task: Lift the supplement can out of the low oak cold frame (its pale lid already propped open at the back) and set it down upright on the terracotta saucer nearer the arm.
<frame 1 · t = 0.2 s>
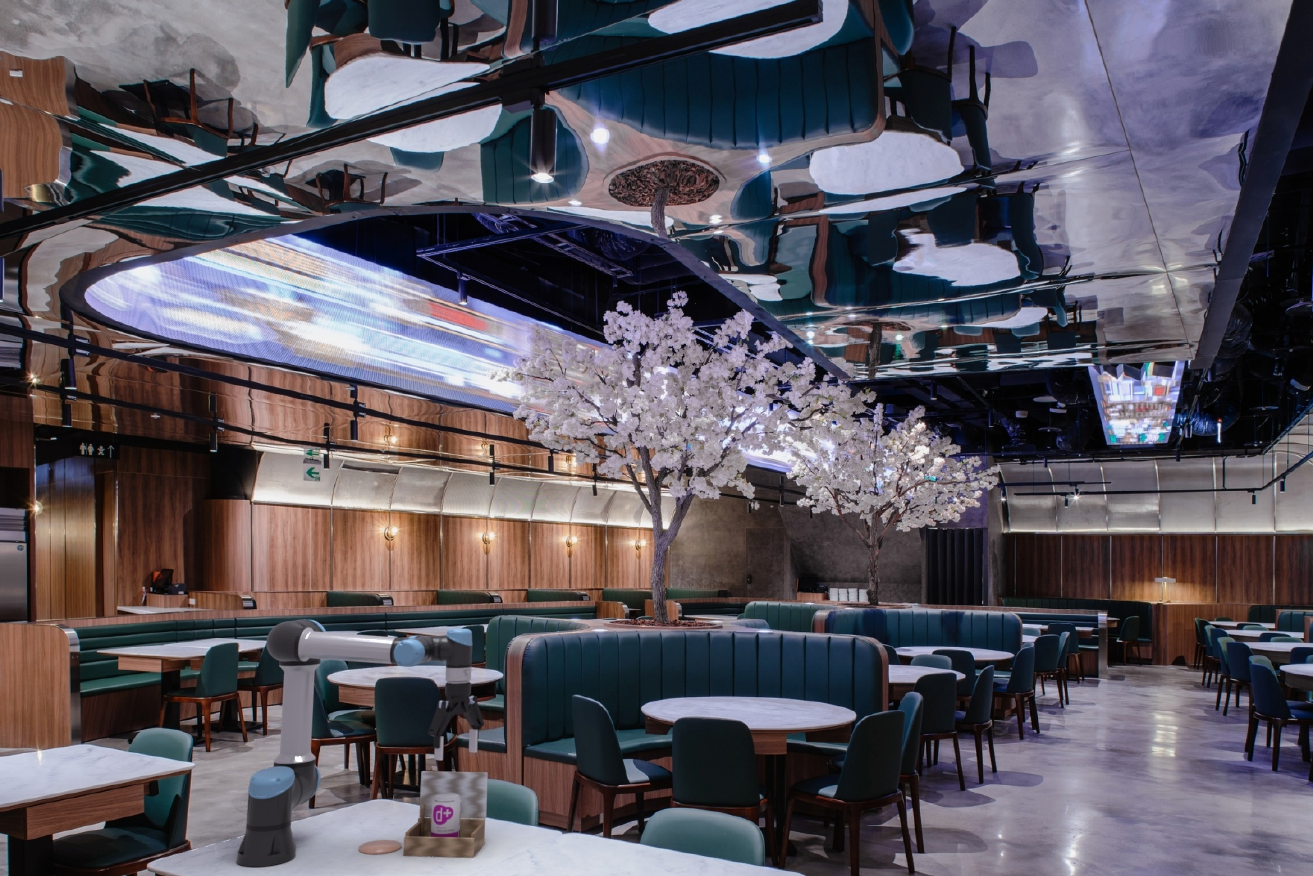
hand: (456, 756, 263), 26 cm above the table, tool pointing down, fingers open, 13 cm apart
saucer: (380, 848, 259), on the table
supplement can: (444, 850, 258), resting in cold frame
cold frame: (444, 849, 258), on the table
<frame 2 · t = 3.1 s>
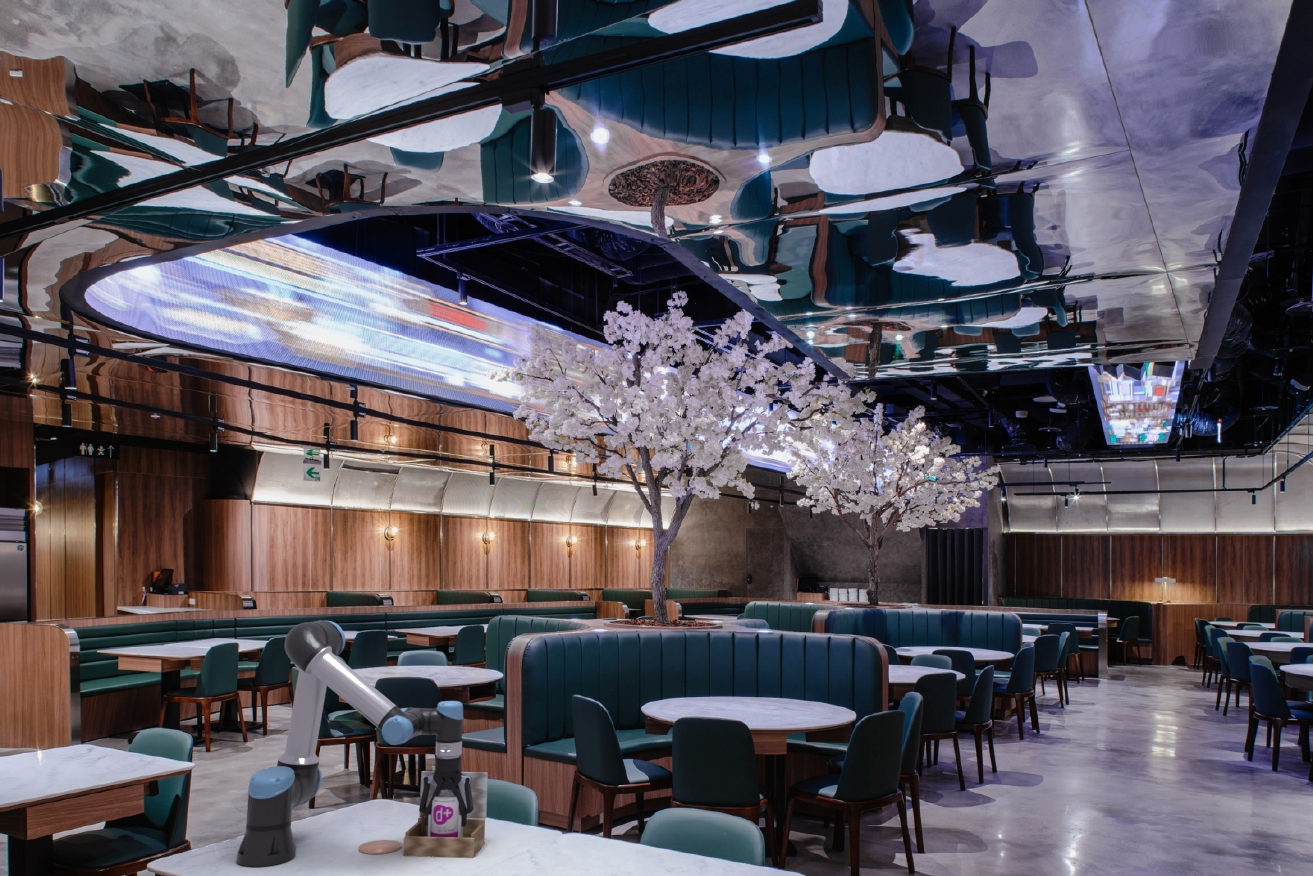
hand: (445, 837, 258), 3 cm above the table, tool pointing down, fingers closed on supplement can, 8 cm apart
supplement can: (444, 850, 258), resting in cold frame, touching gripper
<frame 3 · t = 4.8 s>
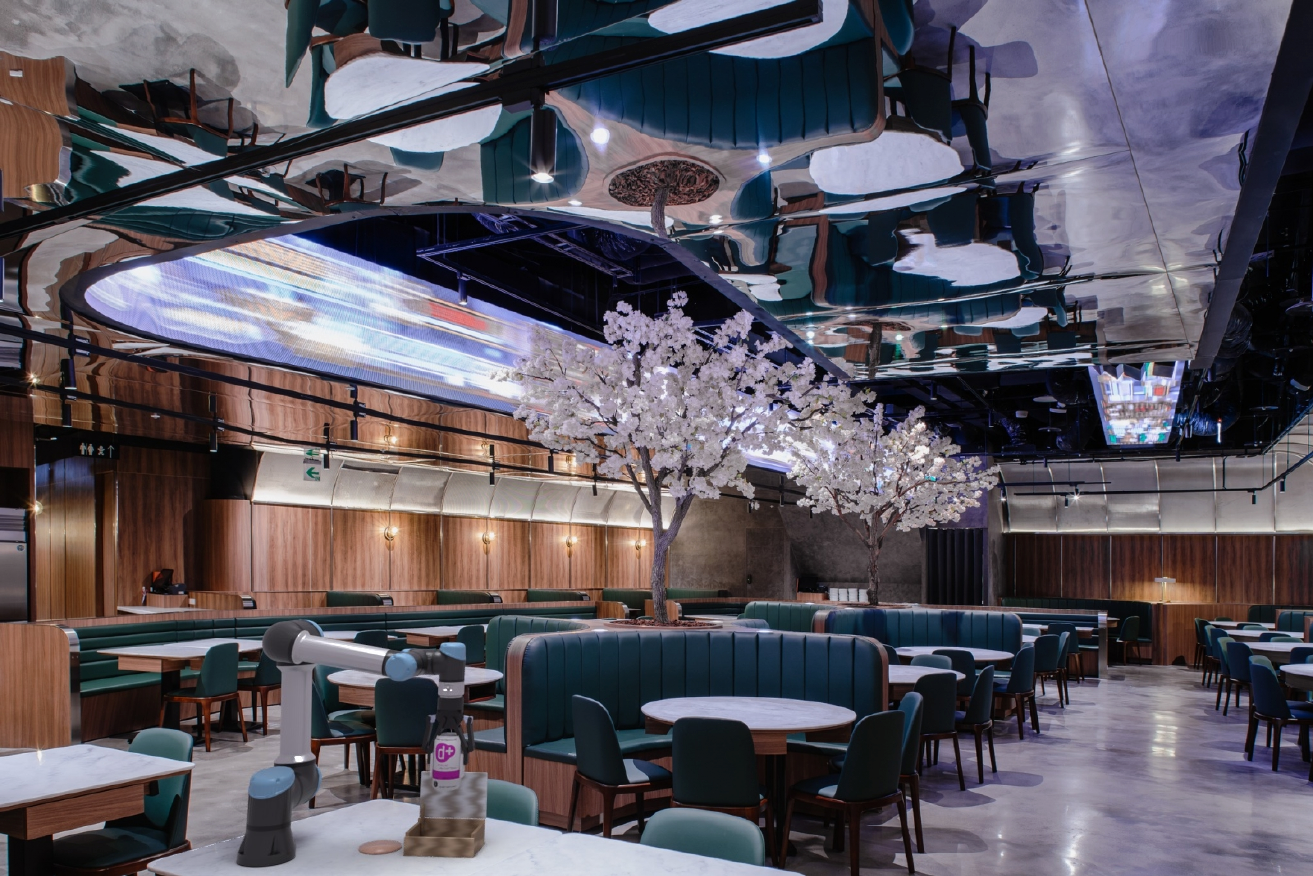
hand: (447, 776, 261), 20 cm above the table, tool pointing down, fingers closed on supplement can, 8 cm apart
supplement can: (446, 788, 260), point 17 cm above the table, touching gripper
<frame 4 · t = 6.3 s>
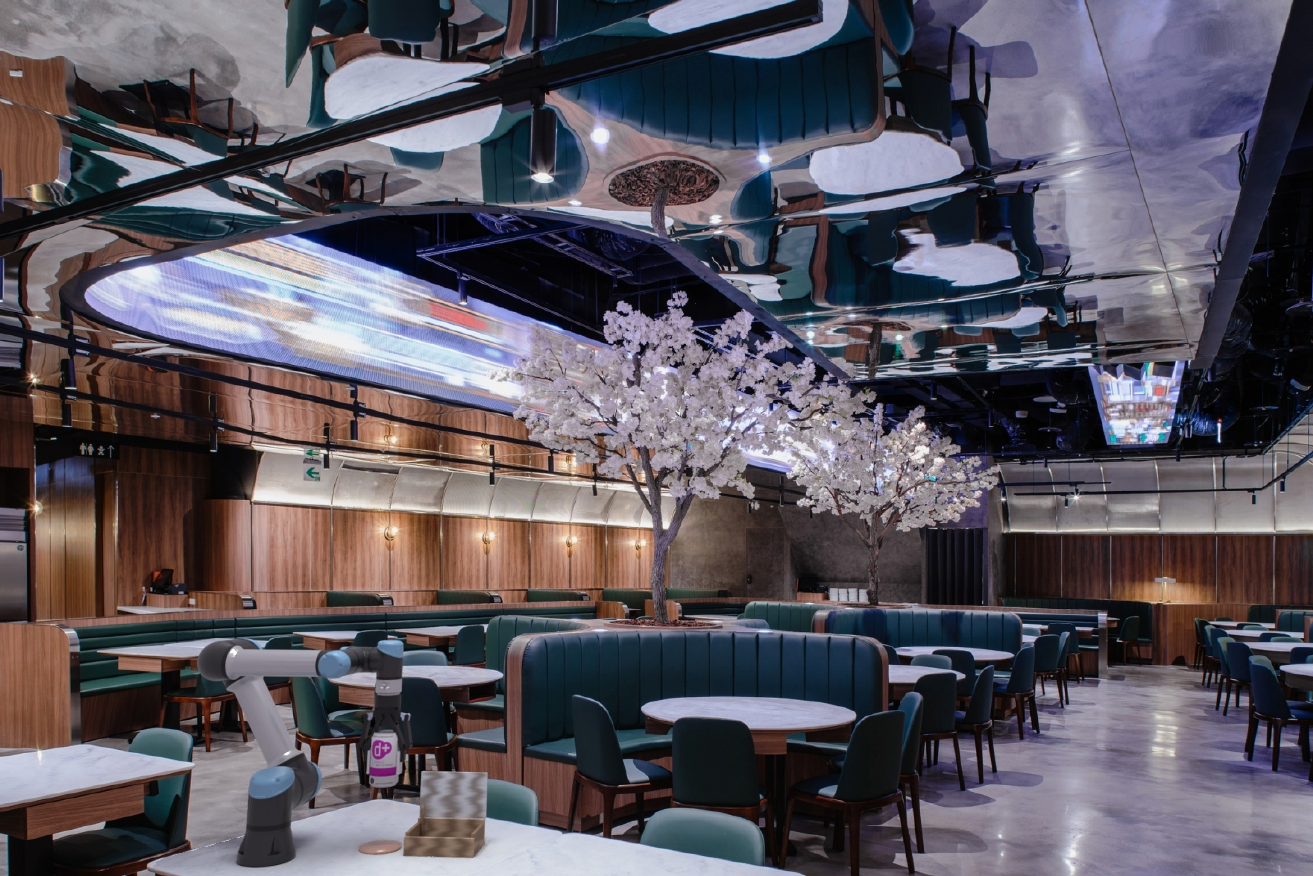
hand: (384, 773, 262), 21 cm above the table, tool pointing down, fingers closed on supplement can, 8 cm apart
supplement can: (383, 785, 262), point 17 cm above the table, touching gripper
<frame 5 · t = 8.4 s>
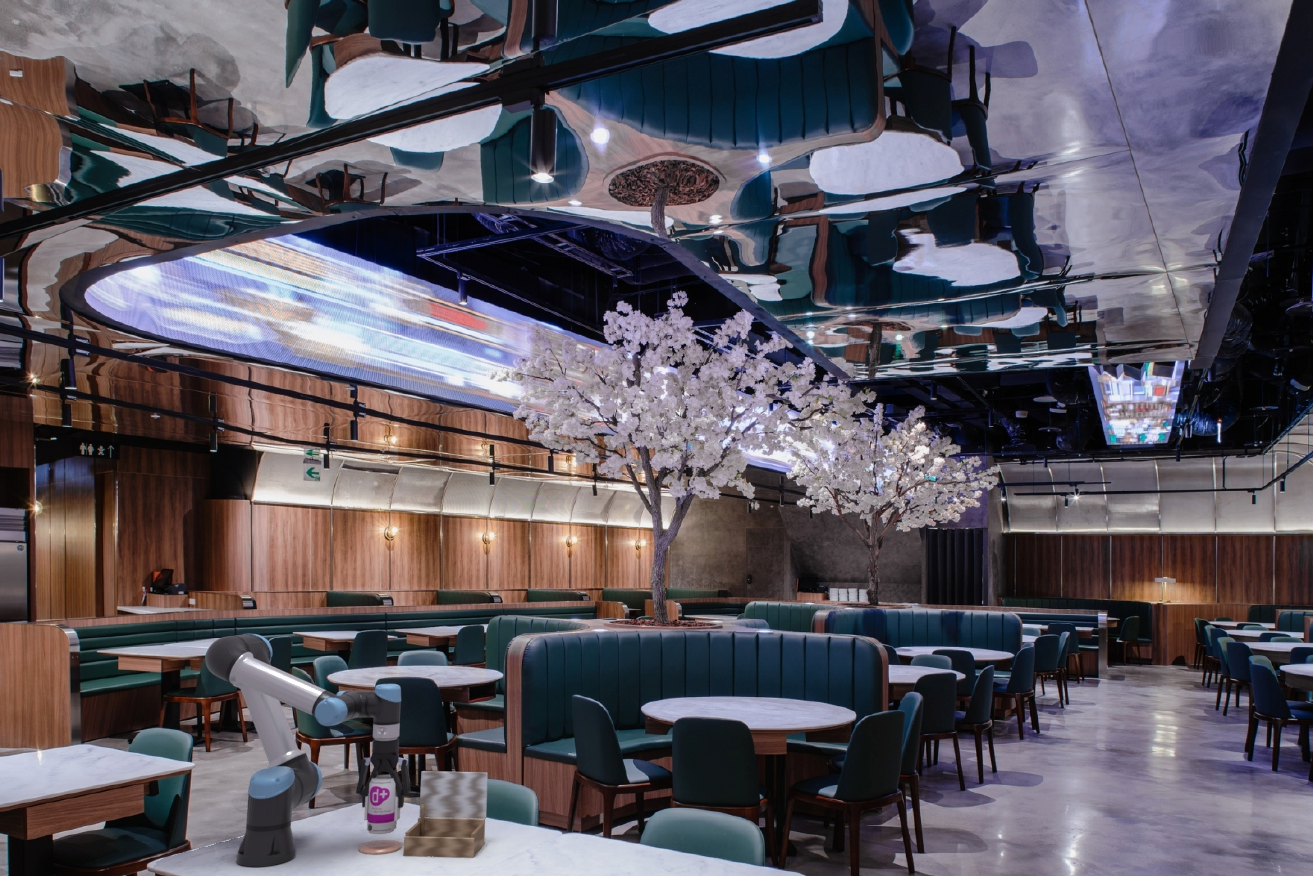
hand: (382, 819, 260), 8 cm above the table, tool pointing down, fingers closed on supplement can, 8 cm apart
supplement can: (381, 831, 260), point 5 cm above the table, touching gripper
when the fingers open (6 cm above the table, at t = 9.8 s): supplement can drops 2 cm, resting on saucer.
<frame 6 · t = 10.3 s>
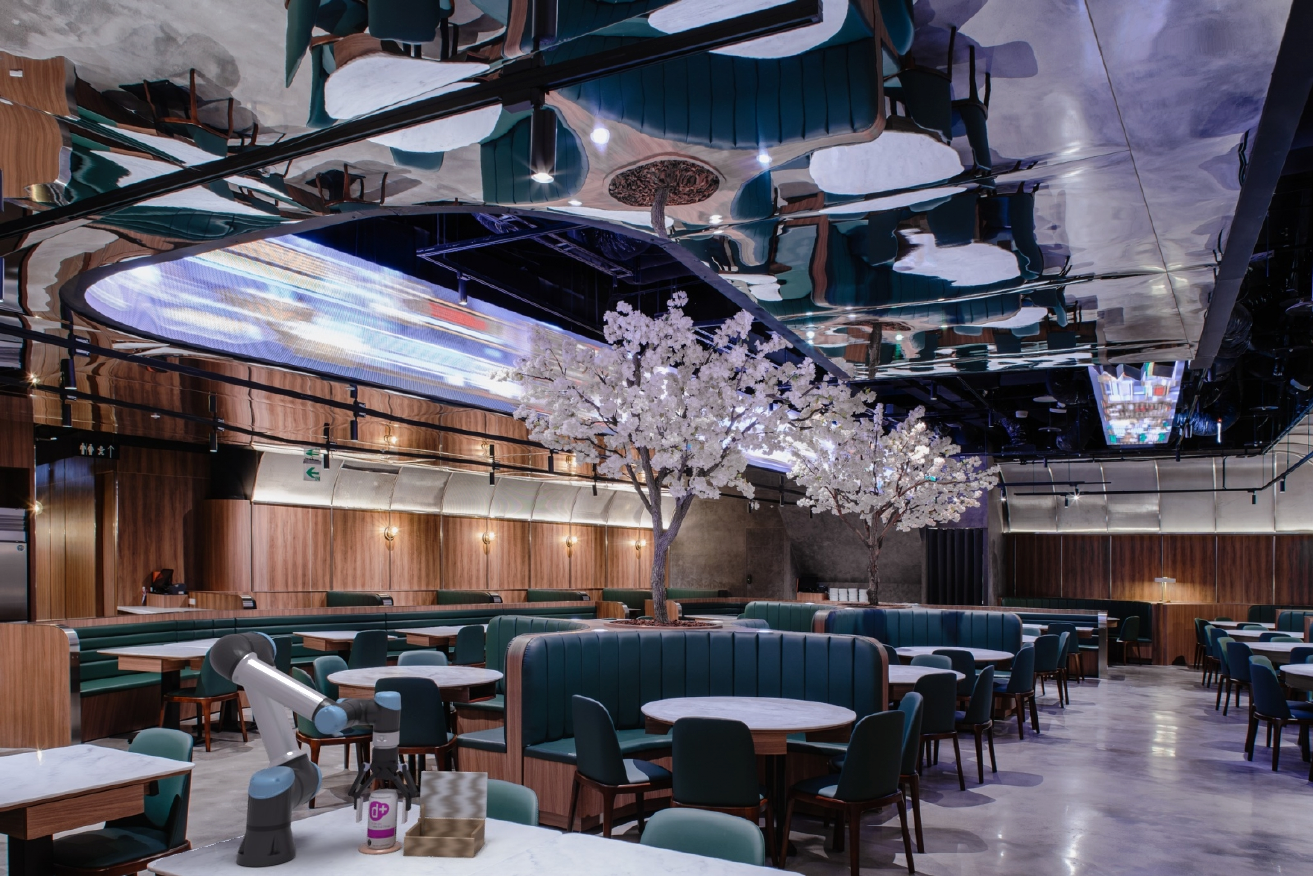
hand: (381, 822, 260), 7 cm above the table, tool pointing down, fingers open, 13 cm apart
supplement can: (381, 846, 259), resting on saucer
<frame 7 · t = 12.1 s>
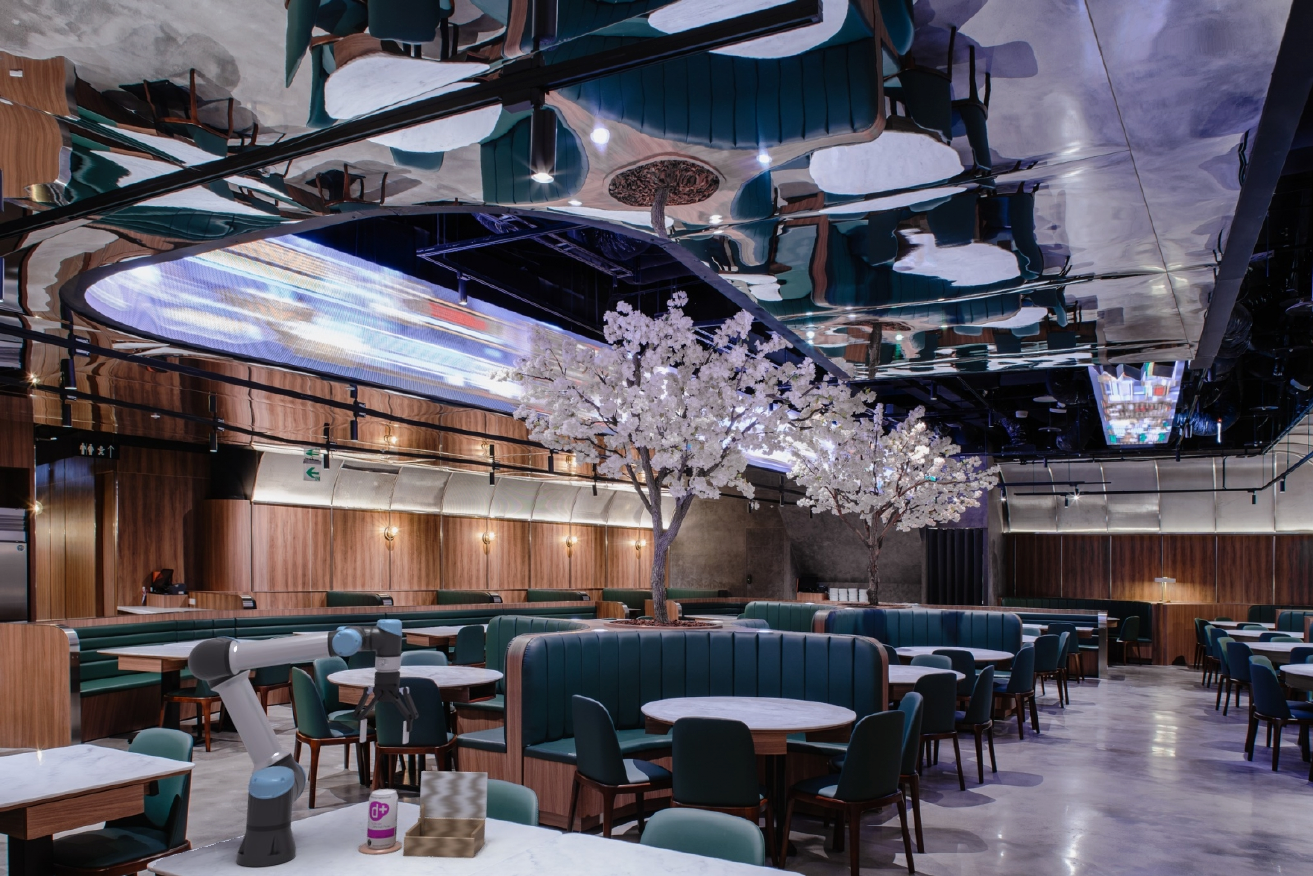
hand: (384, 742, 271), 28 cm above the table, tool pointing down, fingers open, 13 cm apart
nothing on the table moved.
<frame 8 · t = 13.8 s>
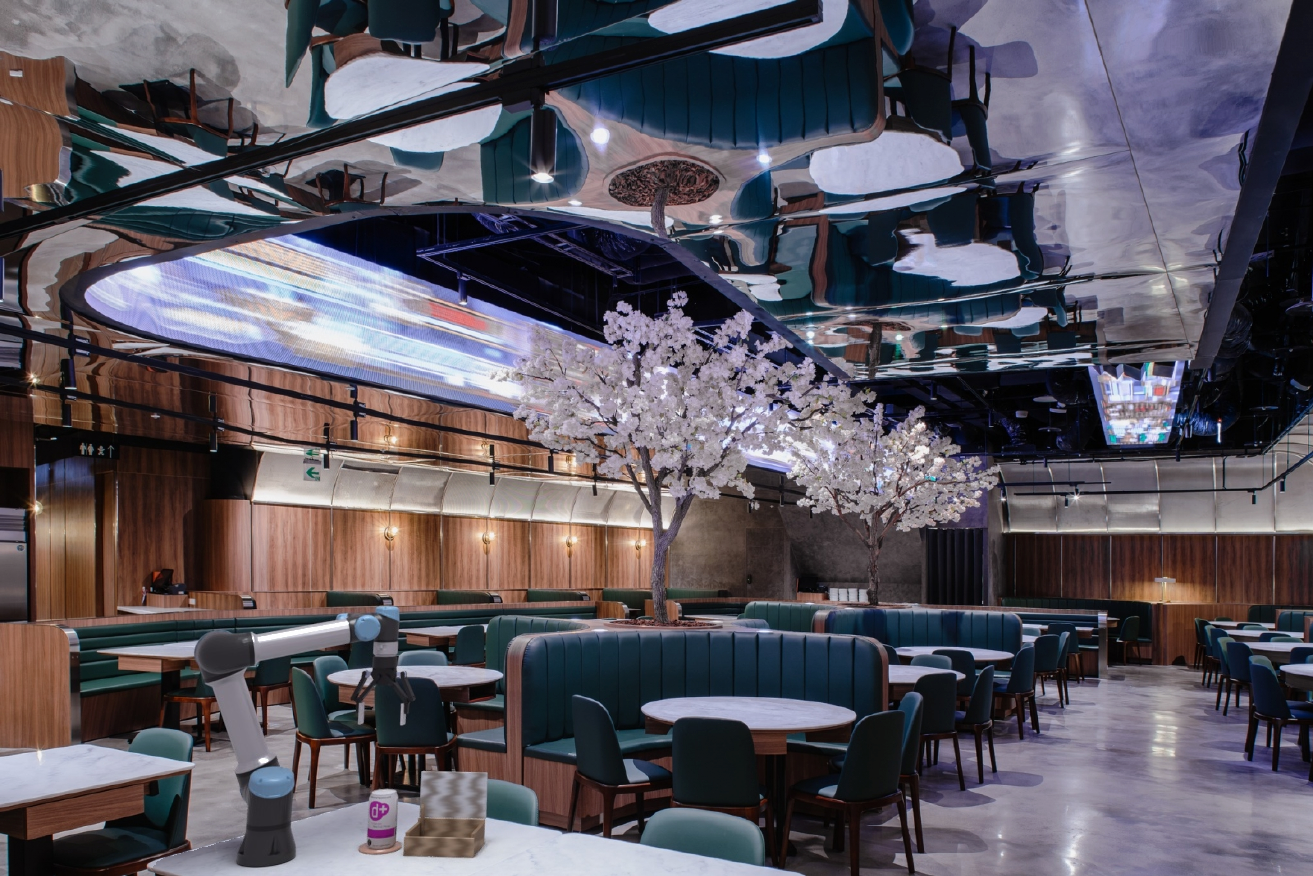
hand: (381, 724, 282), 32 cm above the table, tool pointing down, fingers open, 13 cm apart
nothing on the table moved.
at the end: supplement can inside the target area on the saucer (0.2 cm from its centre), point 0.4 cm above the saucer's base; supplement can tilted 0°; the gripper is holding nothing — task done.
